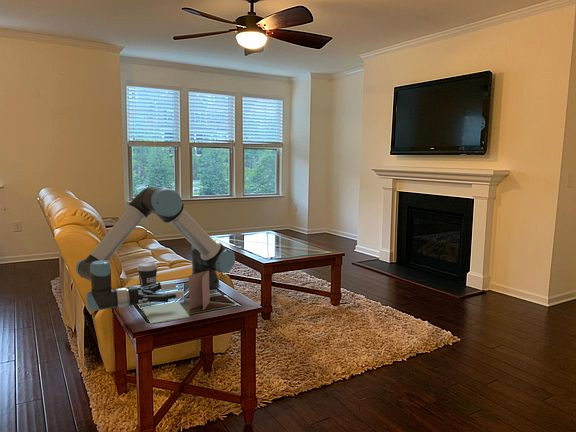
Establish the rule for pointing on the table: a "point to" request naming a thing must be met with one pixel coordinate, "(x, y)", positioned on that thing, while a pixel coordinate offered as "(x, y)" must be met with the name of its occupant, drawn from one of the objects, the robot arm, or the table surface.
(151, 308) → the mat
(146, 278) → the coffee cup
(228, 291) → the table surface
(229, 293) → the table surface
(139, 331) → the table surface
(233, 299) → the table surface
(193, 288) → the greeting card
